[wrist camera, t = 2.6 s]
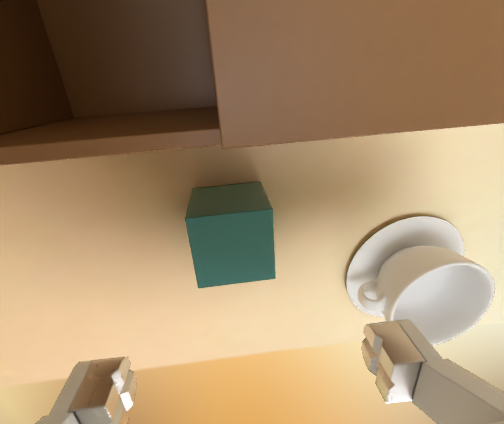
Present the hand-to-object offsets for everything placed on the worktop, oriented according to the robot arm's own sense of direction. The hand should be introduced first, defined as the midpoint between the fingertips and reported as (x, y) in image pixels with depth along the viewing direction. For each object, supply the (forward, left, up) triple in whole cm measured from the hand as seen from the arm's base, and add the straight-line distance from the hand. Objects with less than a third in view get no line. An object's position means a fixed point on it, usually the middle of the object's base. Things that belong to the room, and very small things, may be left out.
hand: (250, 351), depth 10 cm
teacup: (+14, +6, -11) cm, 19 cm away
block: (0, 0, -11) cm, 11 cm away
